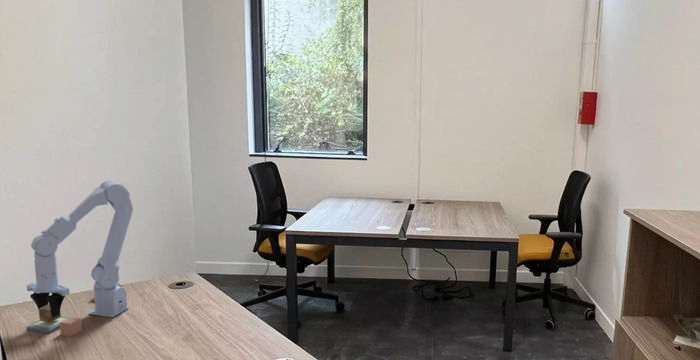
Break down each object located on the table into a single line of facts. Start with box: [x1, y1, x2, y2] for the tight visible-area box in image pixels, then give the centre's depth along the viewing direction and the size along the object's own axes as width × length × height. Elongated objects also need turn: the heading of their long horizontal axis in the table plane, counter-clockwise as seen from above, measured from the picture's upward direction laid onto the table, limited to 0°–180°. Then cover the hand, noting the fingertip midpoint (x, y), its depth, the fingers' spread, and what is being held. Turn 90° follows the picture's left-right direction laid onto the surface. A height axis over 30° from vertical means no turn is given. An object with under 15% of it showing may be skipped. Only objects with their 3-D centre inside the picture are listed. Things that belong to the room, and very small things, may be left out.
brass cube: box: [38, 303, 62, 322], centre depth 152 cm, size 4×4×4 cm
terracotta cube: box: [59, 316, 83, 337], centre depth 148 cm, size 4×4×4 cm
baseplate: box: [26, 315, 70, 334], centre depth 152 cm, size 9×9×1 cm
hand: (50, 314), depth 152 cm, fingers closed on brass cube, 4 cm apart
